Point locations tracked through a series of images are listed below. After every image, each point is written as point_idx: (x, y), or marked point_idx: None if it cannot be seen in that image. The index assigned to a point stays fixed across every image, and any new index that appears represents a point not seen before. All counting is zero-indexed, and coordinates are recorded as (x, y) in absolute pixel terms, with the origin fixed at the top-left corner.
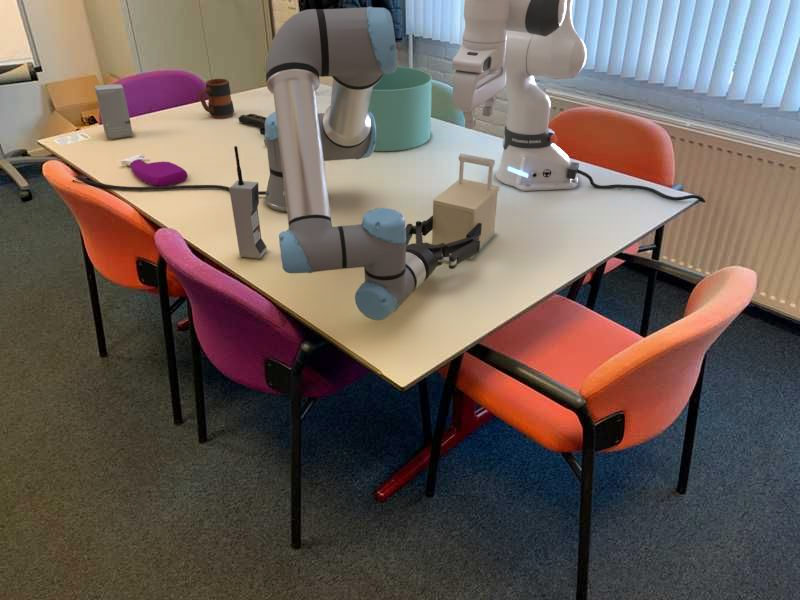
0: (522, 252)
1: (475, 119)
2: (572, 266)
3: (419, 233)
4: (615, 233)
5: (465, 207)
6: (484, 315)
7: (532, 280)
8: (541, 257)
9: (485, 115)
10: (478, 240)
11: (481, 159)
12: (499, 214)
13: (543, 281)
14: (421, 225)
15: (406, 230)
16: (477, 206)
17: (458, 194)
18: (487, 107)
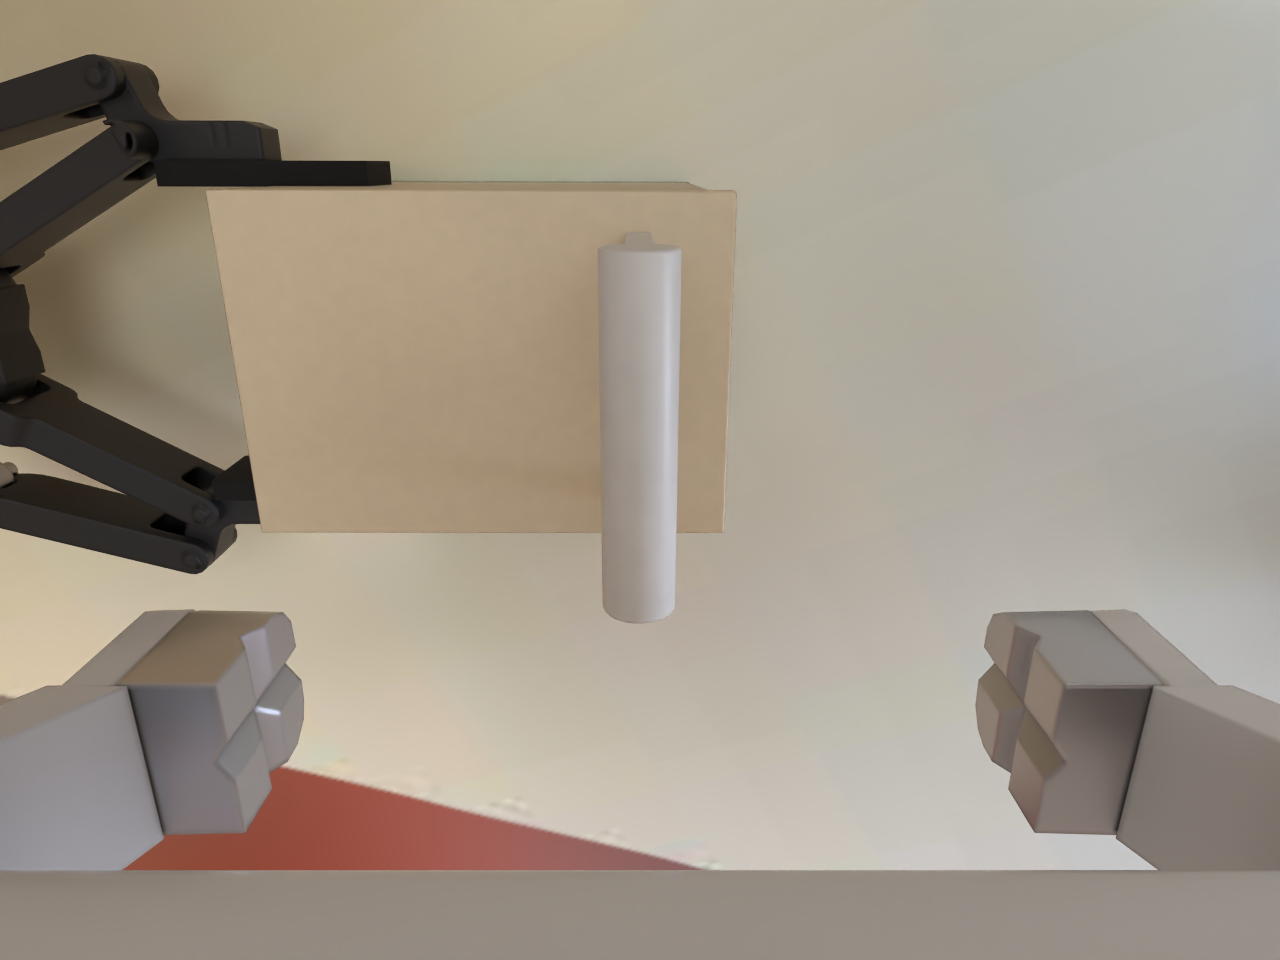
0: (582, 598)
1: (229, 828)
2: (573, 799)
3: (38, 207)
4: (953, 866)
5: (252, 465)
6: (12, 639)
7: (373, 706)
8: (582, 680)
9: (991, 655)
10: (205, 560)
11: (613, 511)
12: (953, 349)
13: (392, 743)
14: (178, 145)
15: (10, 99)
16: (315, 531)
17: (421, 327)
18: (1113, 753)
